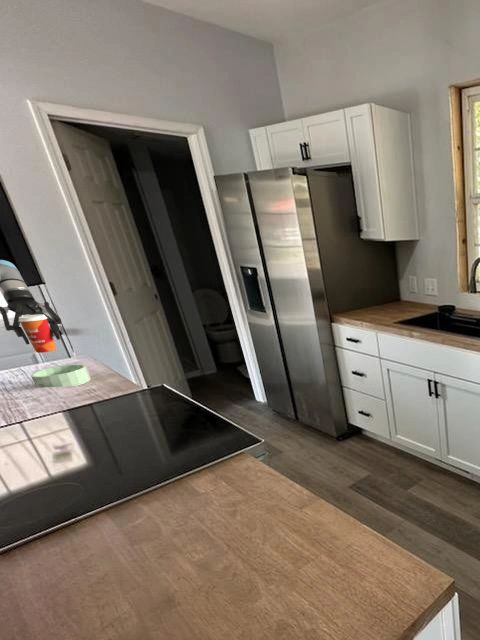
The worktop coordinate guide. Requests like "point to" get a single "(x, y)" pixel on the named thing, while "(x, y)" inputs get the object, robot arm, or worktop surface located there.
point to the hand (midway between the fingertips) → (43, 339)
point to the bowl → (61, 376)
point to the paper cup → (38, 332)
